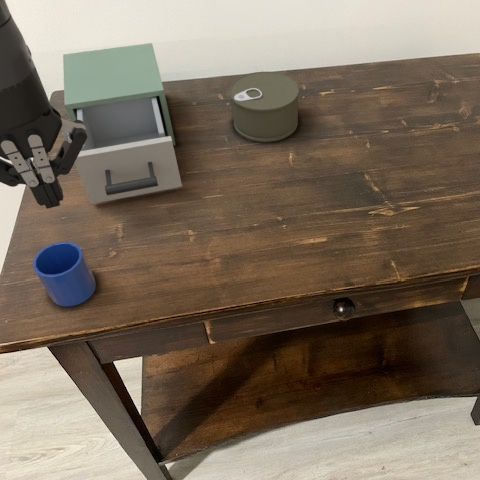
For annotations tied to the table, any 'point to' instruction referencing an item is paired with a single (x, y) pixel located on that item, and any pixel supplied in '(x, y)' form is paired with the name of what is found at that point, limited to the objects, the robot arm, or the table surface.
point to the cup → (65, 273)
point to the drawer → (125, 151)
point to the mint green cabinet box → (113, 79)
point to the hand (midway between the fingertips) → (53, 202)
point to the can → (265, 106)
